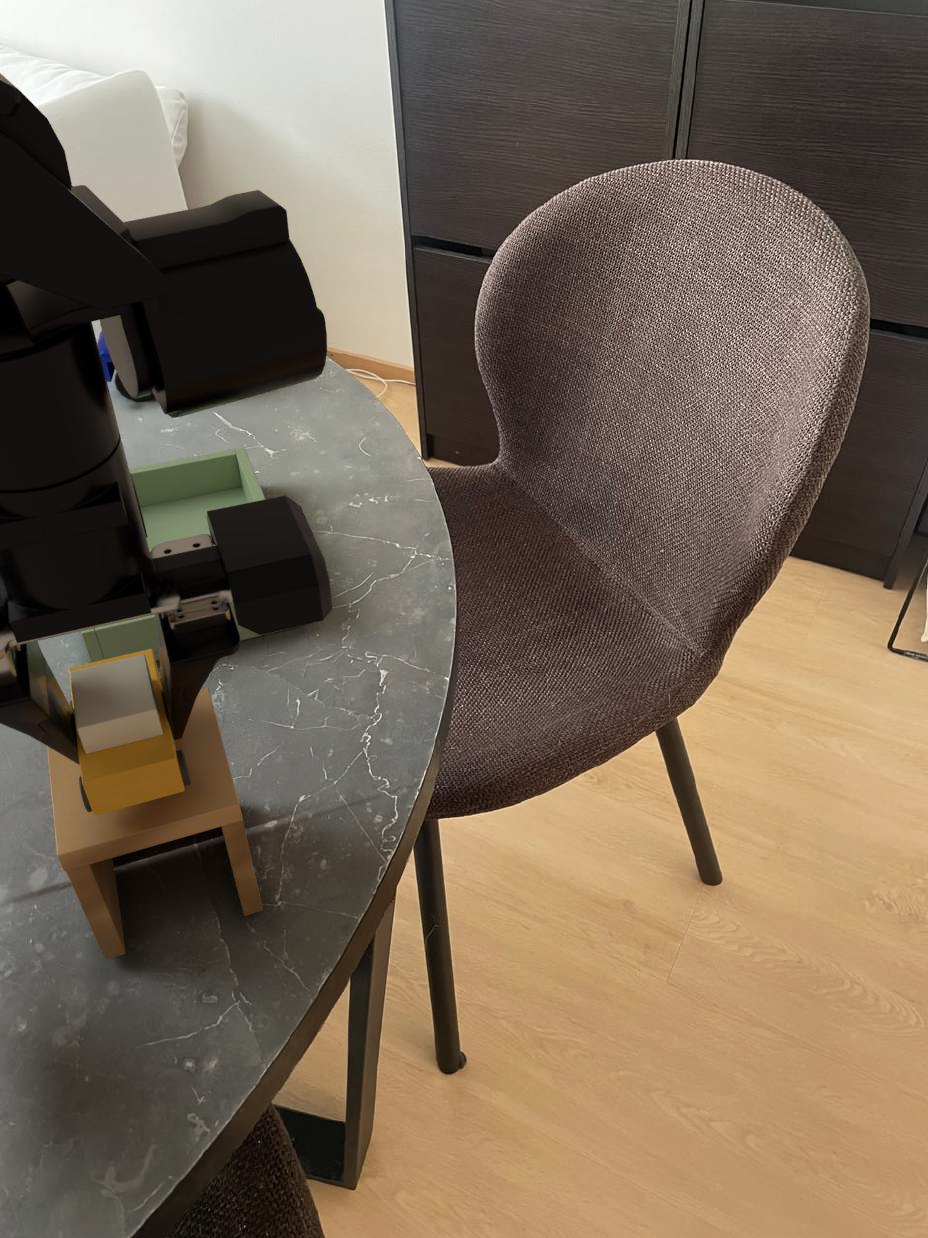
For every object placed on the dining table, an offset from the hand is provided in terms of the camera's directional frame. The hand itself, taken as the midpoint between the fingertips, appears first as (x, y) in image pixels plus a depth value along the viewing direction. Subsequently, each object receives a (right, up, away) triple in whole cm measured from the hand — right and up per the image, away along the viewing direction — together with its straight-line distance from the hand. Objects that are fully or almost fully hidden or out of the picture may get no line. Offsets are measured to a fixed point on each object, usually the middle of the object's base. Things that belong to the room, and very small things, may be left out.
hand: (130, 744), depth 45 cm
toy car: (-12, +28, +47) cm, 56 cm away
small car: (0, 0, 0) cm, 1 cm away
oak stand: (0, -8, +7) cm, 10 cm away
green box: (-5, +9, +26) cm, 28 cm away
